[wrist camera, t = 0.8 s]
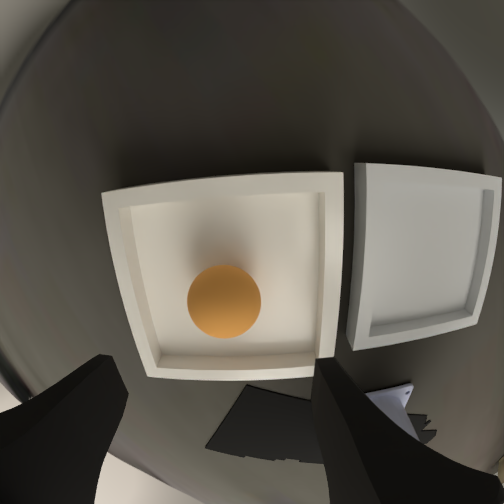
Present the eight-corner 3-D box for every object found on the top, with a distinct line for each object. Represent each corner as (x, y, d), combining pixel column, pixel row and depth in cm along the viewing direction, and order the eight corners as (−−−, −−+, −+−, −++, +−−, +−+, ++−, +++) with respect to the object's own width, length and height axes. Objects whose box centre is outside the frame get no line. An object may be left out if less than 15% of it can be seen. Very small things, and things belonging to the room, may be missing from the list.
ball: (262, 312, 17) (263, 352, 13) (200, 314, 17) (186, 353, 14) (258, 252, 16) (259, 281, 12) (191, 256, 16) (172, 285, 12)
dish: (324, 352, 19) (331, 374, 17) (157, 356, 20) (147, 376, 17) (330, 170, 15) (343, 172, 13) (121, 188, 16) (101, 192, 13)
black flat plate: (246, 385, 20) (455, 416, 23) (246, 381, 21) (453, 413, 24) (205, 448, 24) (399, 465, 27) (205, 444, 24) (398, 463, 28)
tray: (464, 313, 18) (476, 324, 16) (345, 334, 19) (352, 350, 17) (485, 174, 15) (501, 177, 13) (353, 162, 15) (366, 163, 13)
